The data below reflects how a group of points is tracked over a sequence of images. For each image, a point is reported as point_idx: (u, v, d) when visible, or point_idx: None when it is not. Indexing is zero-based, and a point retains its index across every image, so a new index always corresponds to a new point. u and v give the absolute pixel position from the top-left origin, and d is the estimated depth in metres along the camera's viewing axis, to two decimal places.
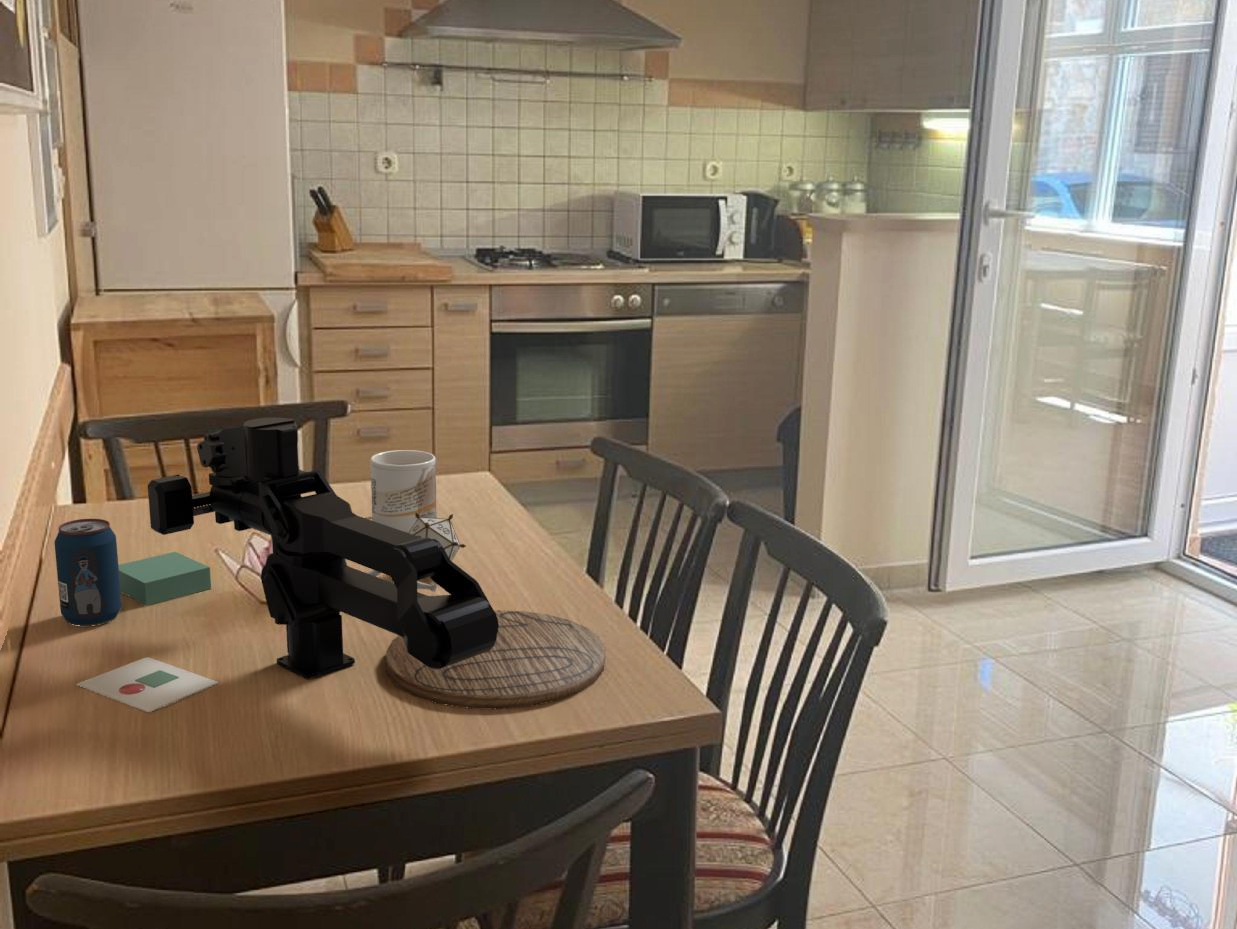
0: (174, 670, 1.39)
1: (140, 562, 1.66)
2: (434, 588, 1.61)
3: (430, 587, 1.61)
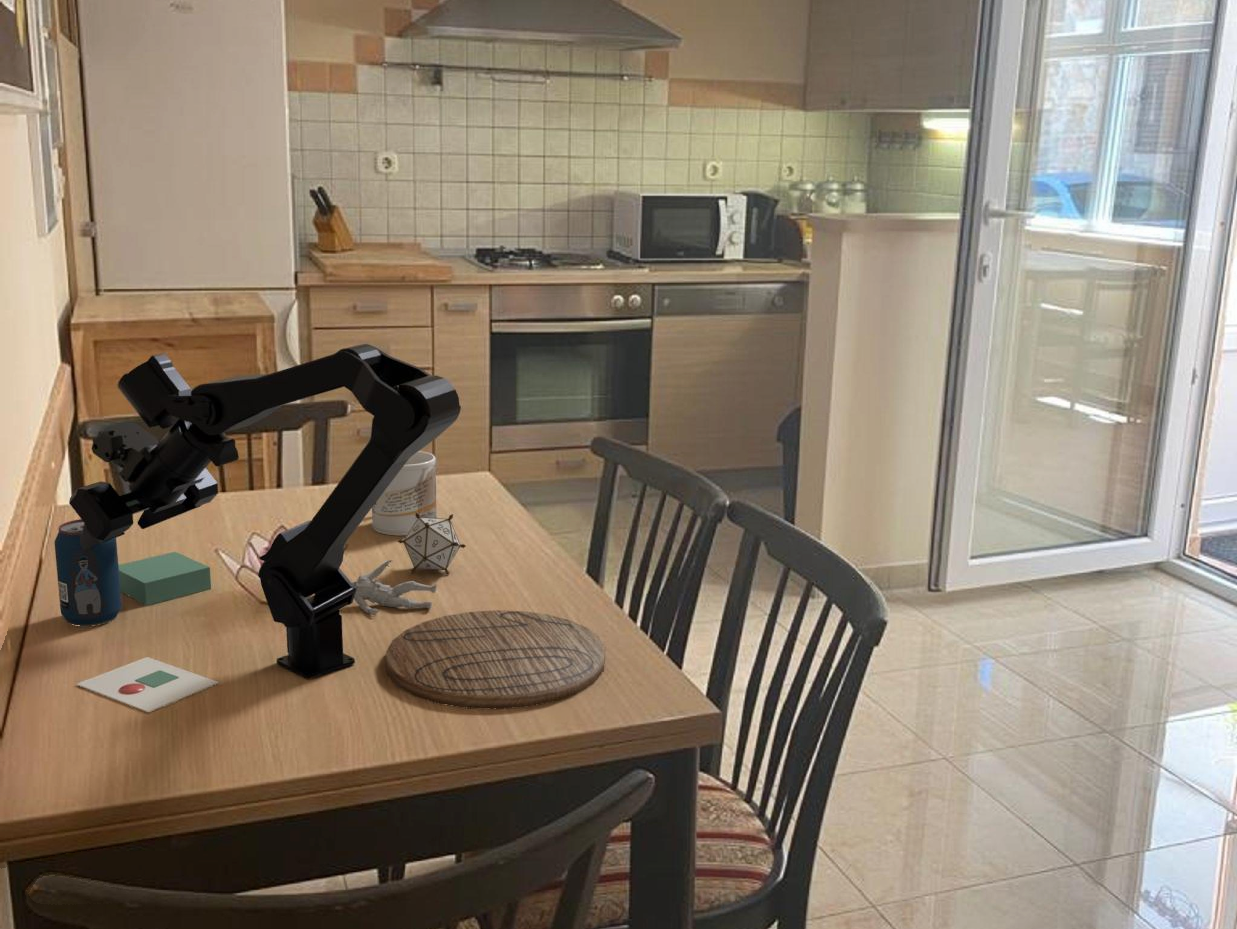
0: (174, 670, 1.39)
1: (140, 562, 1.66)
2: (434, 589, 1.60)
3: (430, 588, 1.61)
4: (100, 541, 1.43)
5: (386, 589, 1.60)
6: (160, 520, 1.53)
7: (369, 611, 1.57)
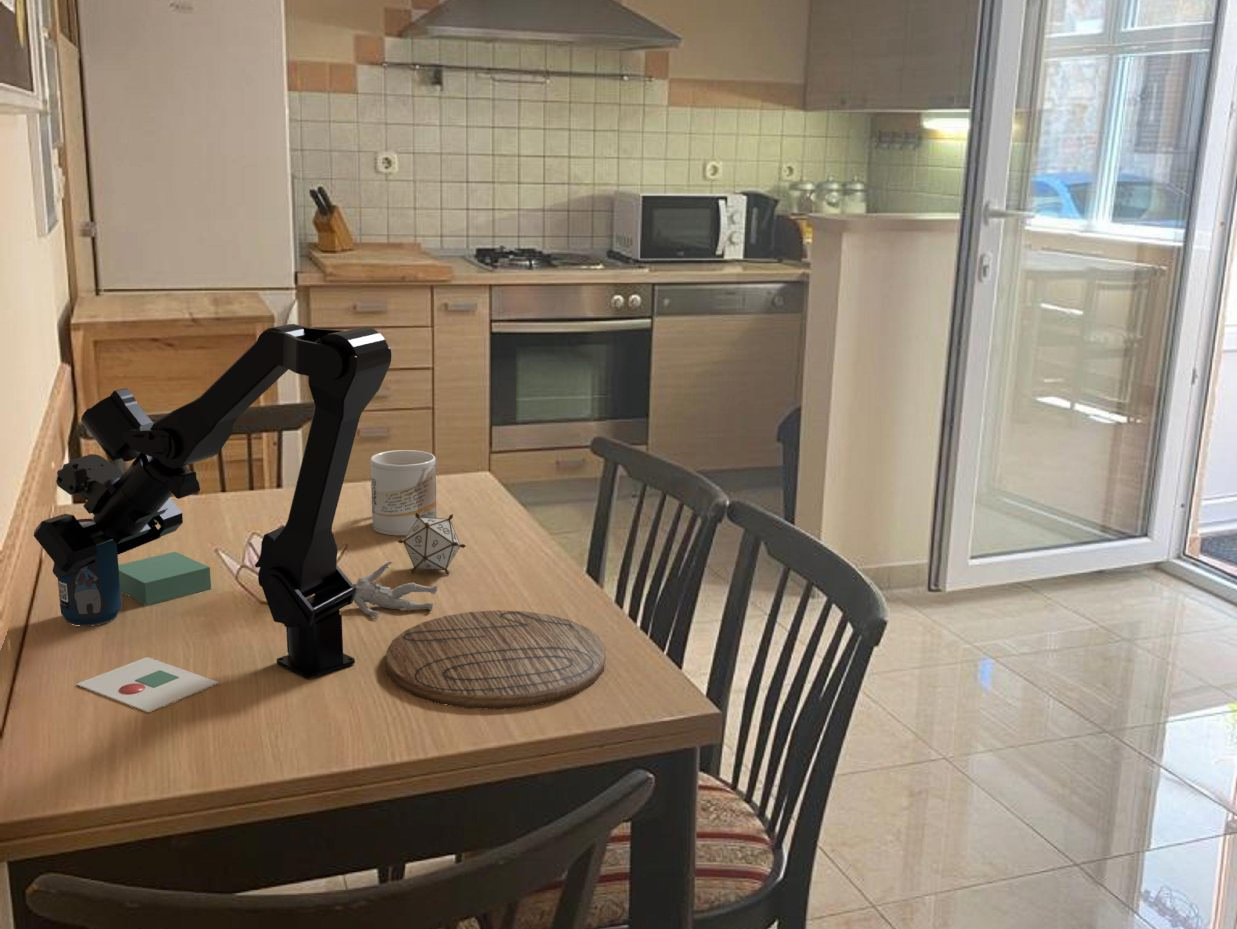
0: (174, 670, 1.39)
1: (140, 562, 1.66)
2: (435, 590, 1.60)
3: (430, 590, 1.60)
4: (72, 569, 1.47)
5: (386, 591, 1.59)
6: (120, 552, 1.55)
7: (370, 613, 1.57)
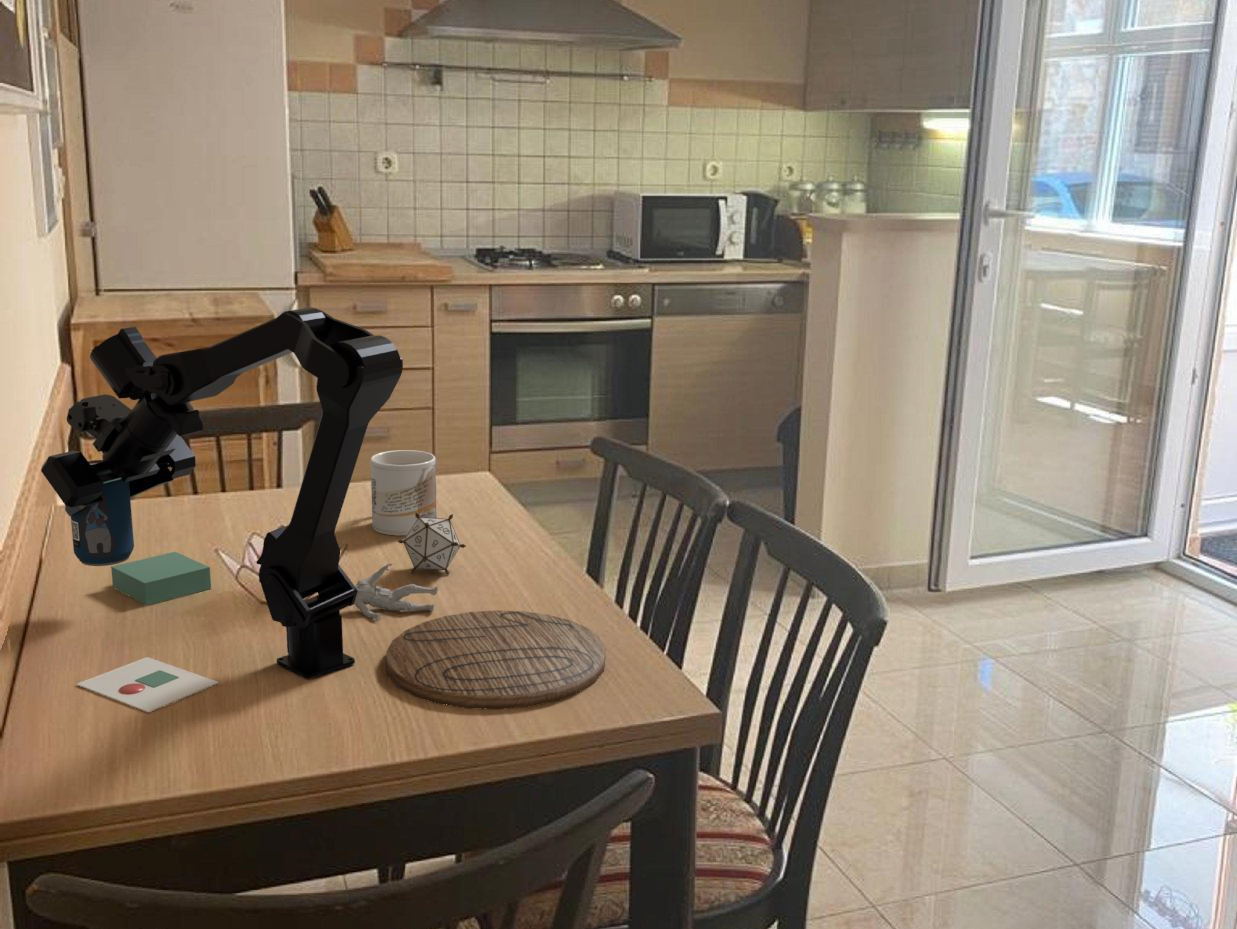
0: (174, 670, 1.39)
1: (140, 562, 1.66)
2: (435, 591, 1.59)
3: (430, 591, 1.60)
4: (81, 507, 1.48)
5: (387, 593, 1.59)
6: (133, 493, 1.56)
7: (372, 616, 1.56)
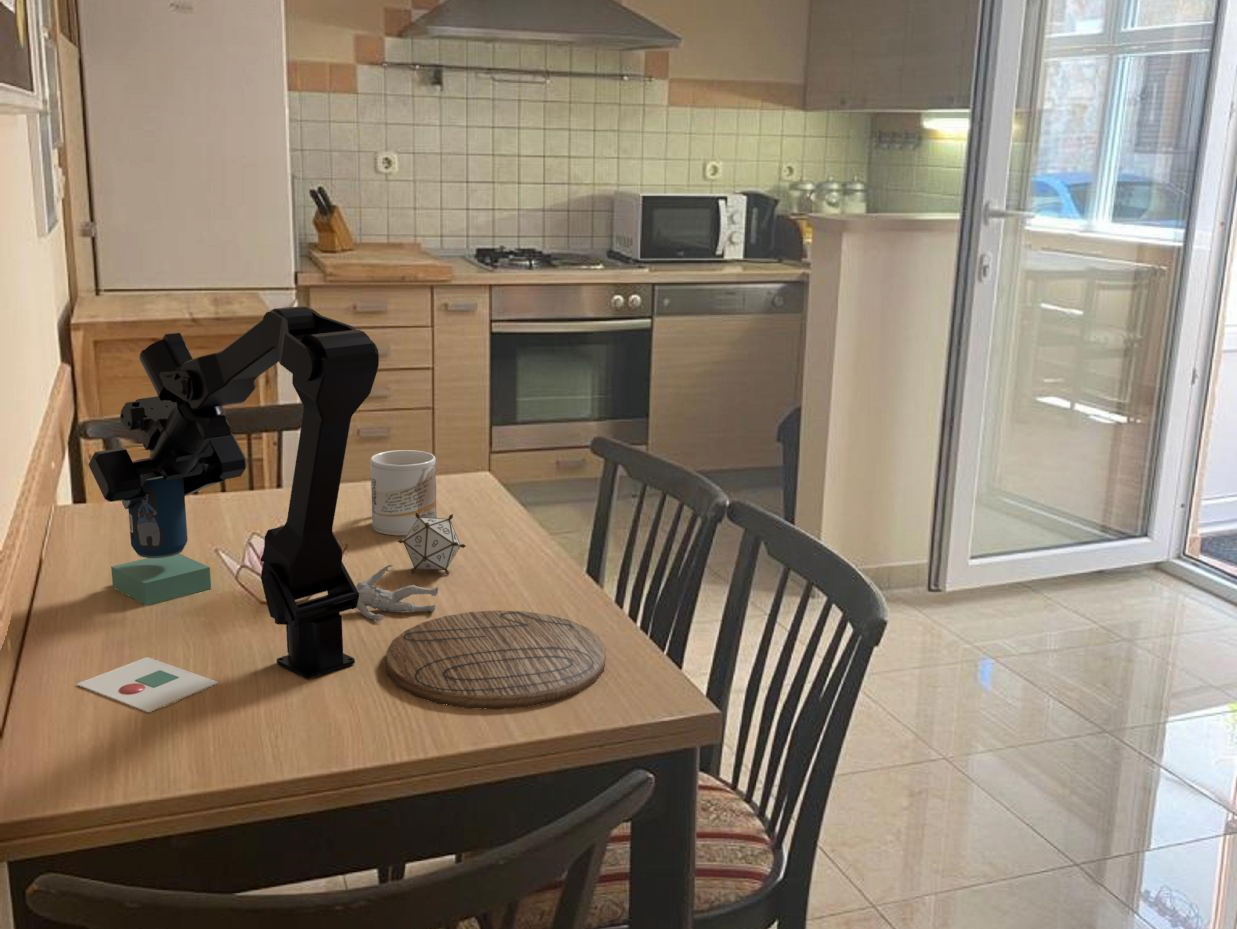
0: (174, 670, 1.39)
1: (140, 562, 1.66)
2: (436, 592, 1.59)
3: (431, 591, 1.60)
4: (128, 501, 1.56)
5: (387, 594, 1.58)
6: (188, 491, 1.63)
7: (373, 617, 1.55)
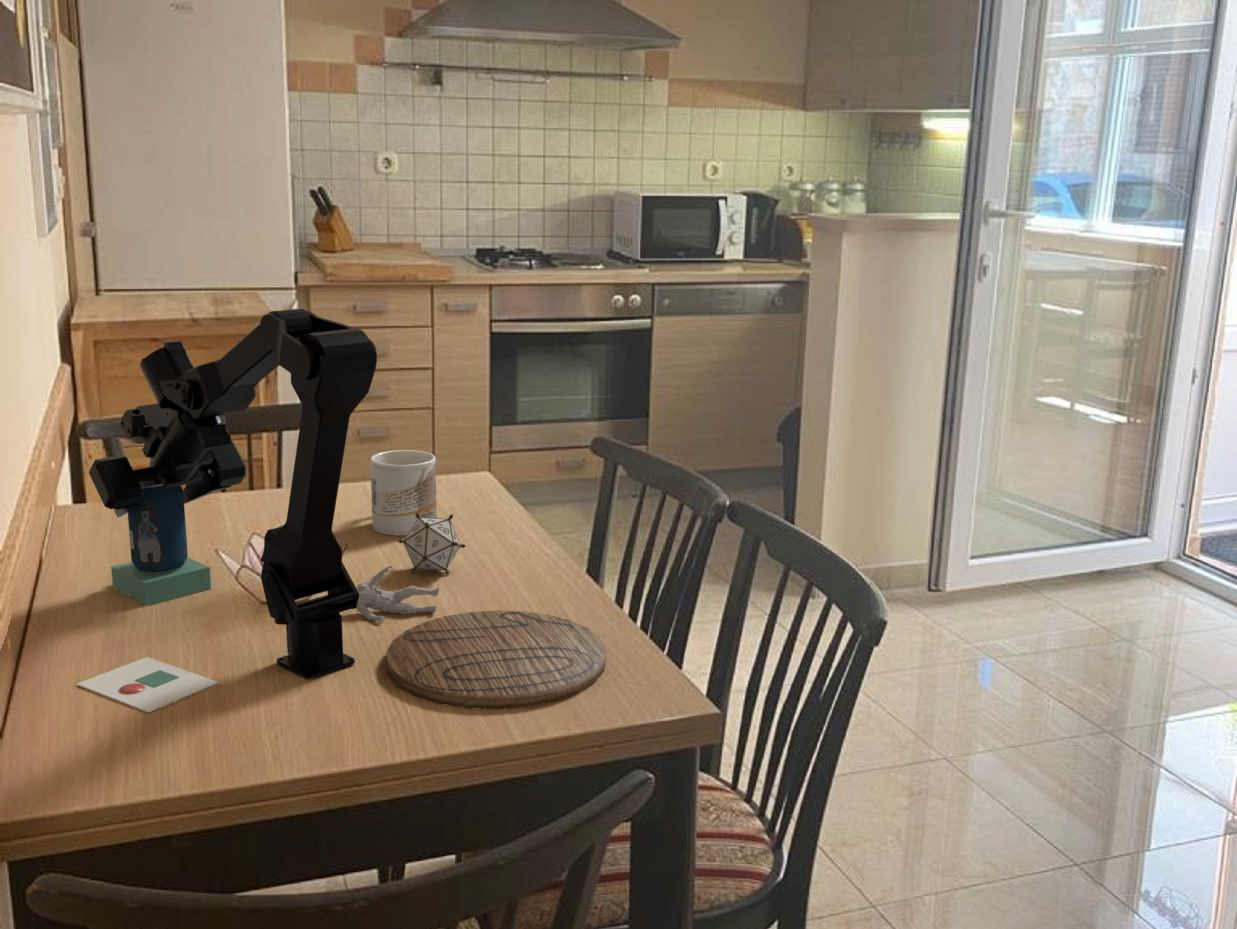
0: (174, 670, 1.39)
1: None
2: (437, 593, 1.59)
3: (431, 592, 1.59)
4: (120, 510, 1.56)
5: (388, 595, 1.58)
6: (195, 496, 1.64)
7: (375, 618, 1.55)
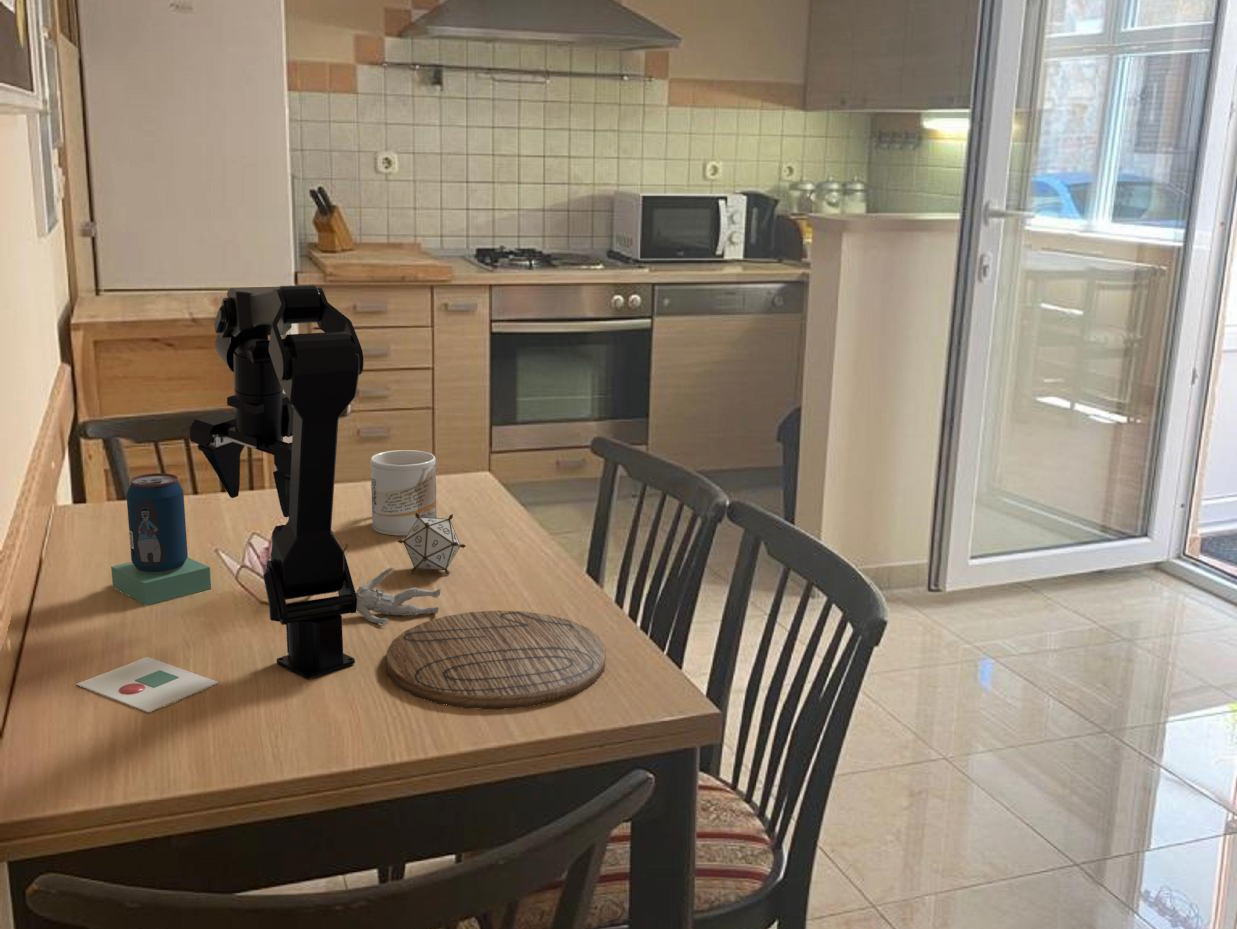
0: (174, 670, 1.39)
1: None
2: (438, 594, 1.59)
3: (433, 593, 1.59)
4: None
5: (389, 597, 1.57)
6: (279, 496, 1.54)
7: (378, 621, 1.54)
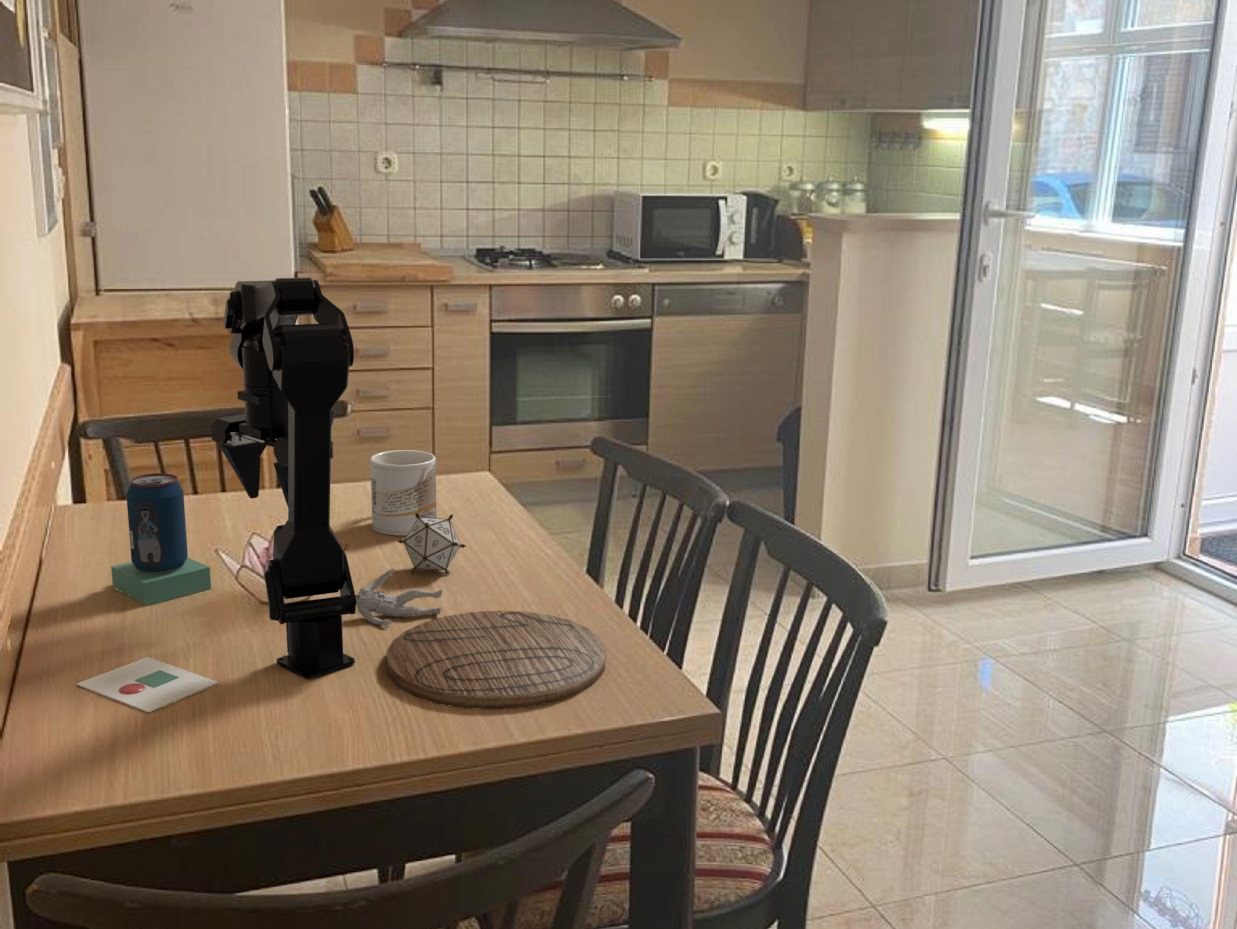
0: (174, 670, 1.39)
1: None
2: (440, 595, 1.58)
3: (434, 594, 1.59)
4: None
5: (391, 599, 1.57)
6: None
7: (381, 623, 1.54)
